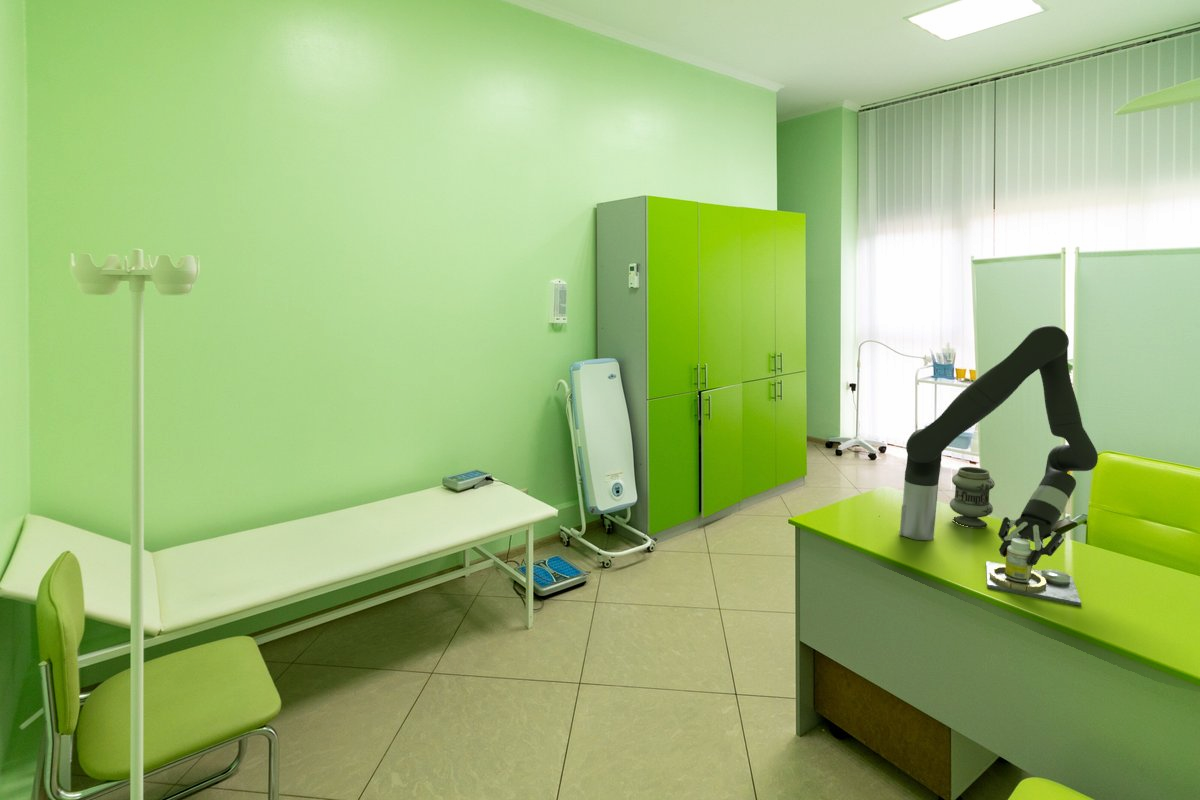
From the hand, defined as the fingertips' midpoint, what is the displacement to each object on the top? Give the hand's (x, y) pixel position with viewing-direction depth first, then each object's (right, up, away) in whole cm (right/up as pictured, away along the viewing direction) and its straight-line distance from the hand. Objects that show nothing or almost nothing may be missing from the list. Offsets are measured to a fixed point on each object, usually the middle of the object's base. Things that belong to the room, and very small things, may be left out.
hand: (1015, 559), depth 157 cm
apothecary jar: (+15, 0, +44) cm, 46 cm away
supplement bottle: (+2, -6, +2) cm, 6 cm away
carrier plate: (+5, -7, +2) cm, 8 cm away
